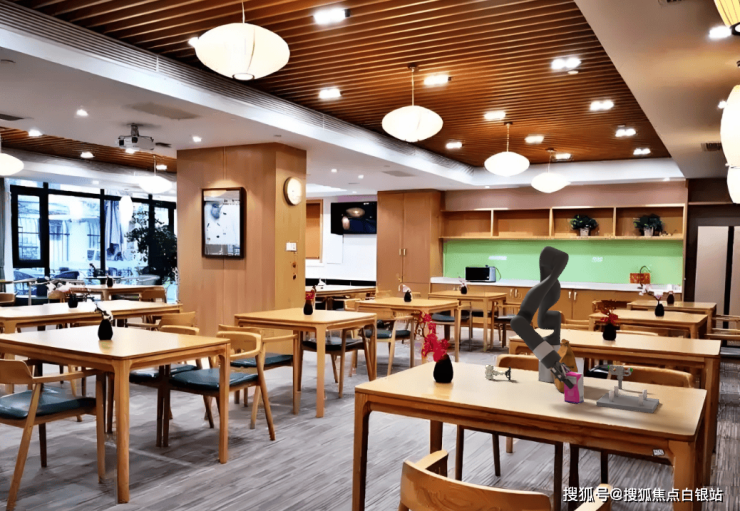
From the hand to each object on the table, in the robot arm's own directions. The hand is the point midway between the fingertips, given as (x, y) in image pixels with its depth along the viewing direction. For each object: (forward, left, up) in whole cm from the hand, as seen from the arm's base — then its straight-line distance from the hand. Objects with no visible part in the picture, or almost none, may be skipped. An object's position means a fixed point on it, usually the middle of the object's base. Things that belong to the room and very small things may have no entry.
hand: (575, 386), depth 238 cm
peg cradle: (+19, +8, -6) cm, 21 cm away
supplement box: (0, 0, -7) cm, 7 cm away
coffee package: (-8, +20, -7) cm, 23 cm away
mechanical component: (+11, +38, -7) cm, 40 cm away
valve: (-42, +26, -7) cm, 50 cm away
